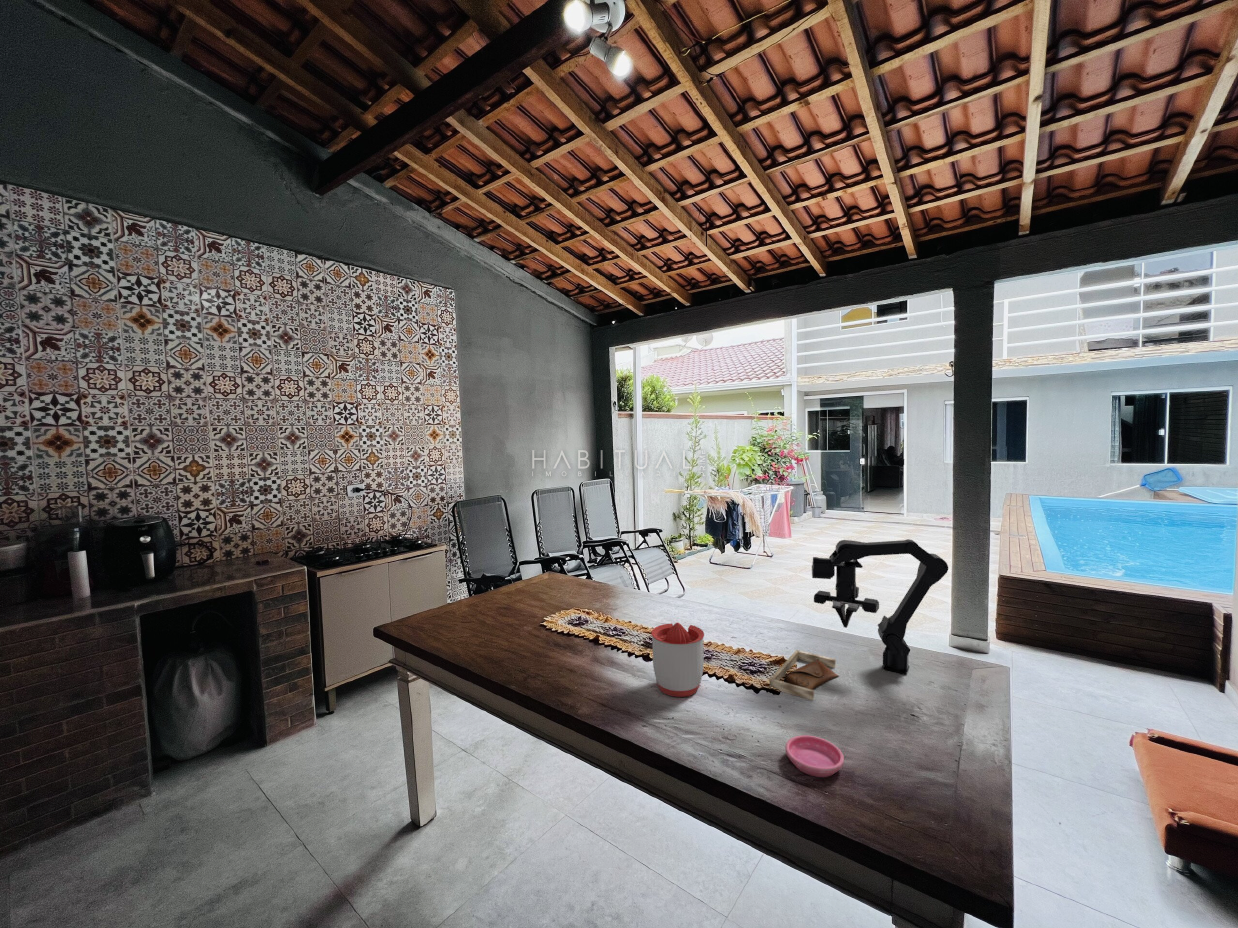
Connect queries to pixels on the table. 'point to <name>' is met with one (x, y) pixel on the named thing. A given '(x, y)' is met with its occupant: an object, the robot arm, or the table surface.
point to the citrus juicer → (678, 658)
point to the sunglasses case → (810, 675)
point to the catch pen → (789, 663)
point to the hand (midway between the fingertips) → (845, 627)
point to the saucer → (814, 755)
